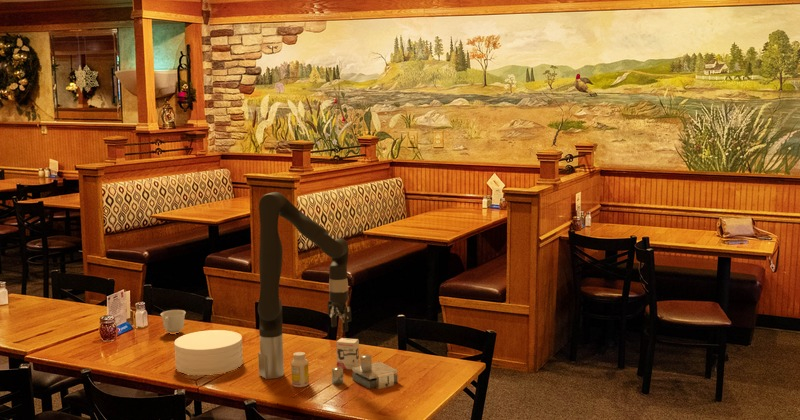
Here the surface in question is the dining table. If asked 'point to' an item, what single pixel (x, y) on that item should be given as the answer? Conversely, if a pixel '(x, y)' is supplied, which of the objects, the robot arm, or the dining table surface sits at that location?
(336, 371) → the cylinder
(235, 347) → the plate stack
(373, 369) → the pan
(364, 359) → the cylinder
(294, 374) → the supplement bottle
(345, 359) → the ink box
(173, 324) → the teacup
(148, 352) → the dining table surface
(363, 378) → the scale base
